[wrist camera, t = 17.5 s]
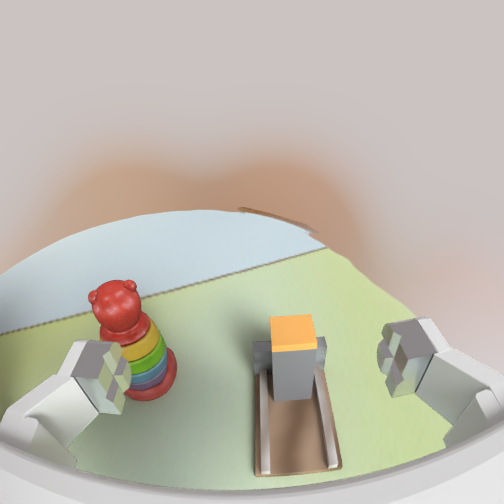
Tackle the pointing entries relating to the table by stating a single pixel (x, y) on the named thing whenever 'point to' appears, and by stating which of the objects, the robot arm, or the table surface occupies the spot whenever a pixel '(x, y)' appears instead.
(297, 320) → the grey tall block
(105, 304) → the stacking bear
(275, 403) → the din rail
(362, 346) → the table surface
